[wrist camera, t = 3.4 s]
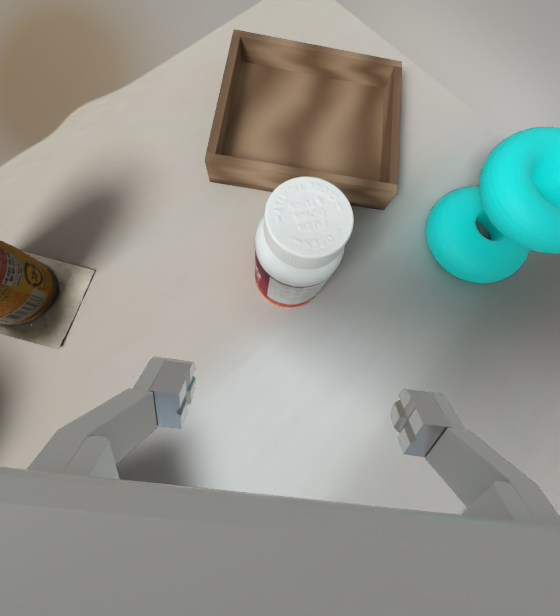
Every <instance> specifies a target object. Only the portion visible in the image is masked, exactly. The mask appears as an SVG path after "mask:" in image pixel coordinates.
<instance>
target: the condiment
mask: <svg viewBox="0 0 560 616" xmlns="http://www.w3.org/2000/svg"><path fill="white" fill-rule="evenodd" d="M94 271H95V270H91V269H88V268H84V267H80V266H77V265H73V264H69V263H65V262H62V261H58V260H54V259H50V258H47V257H43V256H39V255H36V254H32V253H28V252H24V251H21V250H19V249H17V248H15V247H14V246H11V245H9V244H7V243H5V242H3V241H0V334H4V335H7V336H11V337H14V338H18V339H22V340H26V341H29V342H33V343H37V344H41V345H45V346H48V347H52V348H56V349H58V348H59V347H60V345H61V342H62V340H63V339H64V337H65V335H66V333H67V331H68V329H69V327H70V324H71V322H72V321H73V319H74V316H75V314H76V312H77V310H78V307H79V305H80V304H81V302H82V299H83V296H84V293H85V291H86V289H87V287H88V285H89V283H90V280H91V278H92V275H93V273H94ZM60 282H61V283H62V285H60ZM62 286H64V287H65V289H63V288H62ZM31 325H32V326H31Z"/></svg>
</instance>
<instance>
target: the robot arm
mask: <svg viewBox="0 0 560 616" xmlns="http://www.w3.org/2000/svg"><path fill="white" fill-rule="evenodd" d="M194 372H195V363H194V362H189V361H183V360H176V359H170V358H168V359H167V358H161V357H155V356H154V357H153V358H152V359H151V360H150V362H149V363H148V365H147V367H146V368H145V370H144V371H143V373H142V375H141V376H140V378H139V379H138V381H137V383H136V384H135V386H134V388H133V389H127V390H125V391H124V392H122V393H120V394H118V395H117V396H115V397H113V398H112V399H110V400H108V401H107V402H105V403H103V404H101V405H100V406H98V407H96V408H95V409H93V410H91V411H89V412H88V413H86V414H84V415H83V416H81V417H79V418H77V419H76V420H74V421H72V422H71V423H69V424H67V425H66V426H64V427H62V428H60V429H59V430H57V432H56V433H55V434H54V435H53V437H52V438H51V439H50V441H49V442H48V443H47V444H46V446H45V447H44V448H43V449H42V451H41V452H40V453H39V455H38V456H37V457H36V458H35V460H34V461H33V462H32V463H31V465H30V466H29V467H28V468H27V469H18V468H8V467H0V616H560V516H559V515H558V513H557V512H556V510H555V509H554V508H553V506H552V505H551V503H550V502H549V501H548V499H547V498H546V496H545V495H544V493H543V492H542V491H541V489H540V488H539V486H538V485H537V484H536V483H535V482H533V481H532V480H531V479H530V478H528V477H527V476H526V475H525V474H523V473H522V472H521V471H520V470H518V469H517V468H516V467H515V466H513V465H512V464H511V463H510V462H508V461H507V460H506V459H505V458H503V457H502V456H501V455H500V454H498V453H497V452H496V451H495V450H493V449H492V448H491V447H490V446H488V445H487V444H486V443H485V442H483V441H482V440H481V439H480V438H478V437H477V436H476V435H475V434H473V433H472V432H471V431H470V430H465V428H464V427H463V425H462V423H461V422H460V420H459V418H458V417H457V415H456V413H455V412H454V410H453V408H452V407H451V405H450V403H449V402H448V400H447V398H446V397H445V396H444V395H443V394H442V393H434V392H426V391H417V390H409V389H403V390H402V391H401V392H400V394H399V398H400V400H399V401H397V402H395V403H394V405H393V407H392V411H391V419H392V423H393V426H394V428H395V429H396V430H397V431H398V432H399V435H398V440H399V443H400V446H401V449H402V451H403V454H407V455H413V456H420V457H426V458H425V459H426V460H427V461H428V462H429V464H430V465H431V466H432V467H433V468H434V469H435V471H436V472H437V473H438V474H439V475H440V476H441V478H442V479H443V480H444V481H445V482H446V483H447V485H448V486H449V487H450V488H451V489H452V490H453V492H454V493H455V494H456V495H457V496H458V497H459V499H460V500H461V501H462V502H463V503H464V504H465V506H466V507H467V508H466V509H465V510H464V511H463V512H462V513H461V514H460V515H457V514H447V513H438V512H428V511H418V510H409V509H399V508H390V507H380V506H371V505H361V504H352V503H342V502H333V501H323V500H313V499H303V498H294V497H284V496H274V495H265V494H255V493H246V492H236V491H227V490H217V489H208V488H198V487H189V486H179V485H169V484H160V483H150V482H141V481H131V480H122V479H120V478H119V474H118V471H117V467H116V464H117V463H118V462H119V461H121V460H122V459H123V458H124V457H125V456H126V455H127V454H128V453H130V452H131V451H132V450H133V449H134V448H135V447H136V446H137V445H139V444H140V443H141V442H142V441H143V440H144V439H145V438H146V437H148V436H149V435H150V434H151V433H152V432H153V431H154V430H155V429H157V426H160V427H171V428H182V425H183V423H184V420H185V417H186V415H187V405H188V404H190V403H191V401H192V398H193V395H194V390H195V377H194V376H193V374H194Z"/></svg>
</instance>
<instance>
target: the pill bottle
mask: <svg viewBox="0 0 560 616" xmlns="http://www.w3.org/2000/svg"><path fill="white" fill-rule="evenodd" d="M353 224H354V217H353V211H352V207H351V205H350V203H349V201H348V199H347V198H346V196H345V195H344V194H343V193H342V192H341V191H340V190H339V189H338V188H337V187H336V186H334V185H333V184H331V183H330V182H328V181H325V180H323V179H320V178H316V177H308V176H307V177H297V178H293V179H290V180H288V181H285V182H284V183H282V184H281V185H279V186H278V187H277V188H276V189H275V190H274V191H273V192H272V194H271V195H270V197H269V199H268V201H267V204H266V208H265V214H264V216H263V218H262V219H261V221H260V223H259V225H258V228H257V231H256V236H255V280H256V285H257V288H258V290H259V292H260V294H261V295H262V296H263V297H264V299H266V300H267V301H268V302H269V303H271V304H272V305H274V306H277V307H280V308H285V309H293V308H298V307H301V306H303V305H305V304H307V303H308V302H309V301H310V300H312V299H313V298H314V296H315V295H316V294H317V293H318V292H319V290H320V289H321V288H322V287H323V285H324V284H325V283H326V282H327V280H328V279H329V278H330V277H331V275H332V274H333V273H334V272H335V270H336V269H337V267H338V266H339V264H340V262H341V260H342V257H343V254H344V249H345V244H346V243H347V241H348V240H349V238H350V236H351V233H352V230H353Z"/></svg>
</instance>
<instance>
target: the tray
mask: <svg viewBox="0 0 560 616" xmlns="http://www.w3.org/2000/svg"><path fill="white" fill-rule="evenodd" d="M401 75H402V62H401V61H396V60H390V59H385V58H380V57H375V56H370V55H364V54H359V53H354V52H349V51H344V50H338V49H333V48H328V47H323V46H318V45H312V44H307V43H302V42H297V41H292V40H286V39H281V38H276V37H271V36H266V35H260V34H255V33H250V32H245V31H240V30H233V35H232V39H231V44H230V48H229V53H228V57H227V62H226V66H225V71H224V75H223V80H222V84H221V89H220V93H219V98H218V102H217V107H216V111H215V116H214V120H213V125H212V129H211V134H210V138H209V143H208V147H207V152H206V156H205V163H206V167H207V171H208V175H209V180H210V182H215V183H221V184H227V185H234V186H240V187H246V188H252V189H258V190H264V191H270V192H273V191H274V190H275V189H276V188H277V187H278V186H279V185H281V184H282V183H284V182H285V181H288V180H290V179H293V178H297V177H307V176H308V177H316V178H320V179H323V180H325V181H328V182H330V183H331V184H333V185H334V186H336V187H337V188H338V189H339V190H340V191H341V192H342V193H343V194H344V195H345V196H346V198H347V199H348V201H349V203H350V205H355V206H362V207H368V208H374V209H380V210H384V209H385V207H386V206H387V205H388V204H389V202H390V201H391V200H392V199H393V197H394V196H395V195H396V193H397V192H398V162H399V133H400V104H401Z"/></svg>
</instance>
